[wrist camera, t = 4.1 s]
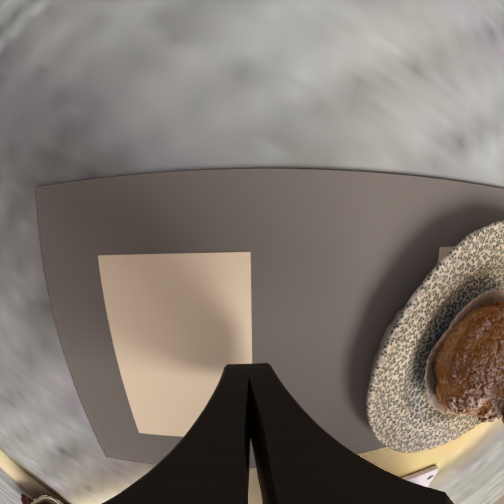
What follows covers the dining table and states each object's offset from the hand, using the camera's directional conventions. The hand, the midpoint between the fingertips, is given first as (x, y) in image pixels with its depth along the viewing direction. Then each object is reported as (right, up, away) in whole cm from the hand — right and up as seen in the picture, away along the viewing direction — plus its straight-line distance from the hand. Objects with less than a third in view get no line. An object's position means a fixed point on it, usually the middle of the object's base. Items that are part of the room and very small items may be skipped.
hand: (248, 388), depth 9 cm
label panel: (+6, +1, +2) cm, 6 cm away
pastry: (+10, 0, +2) cm, 11 cm away
